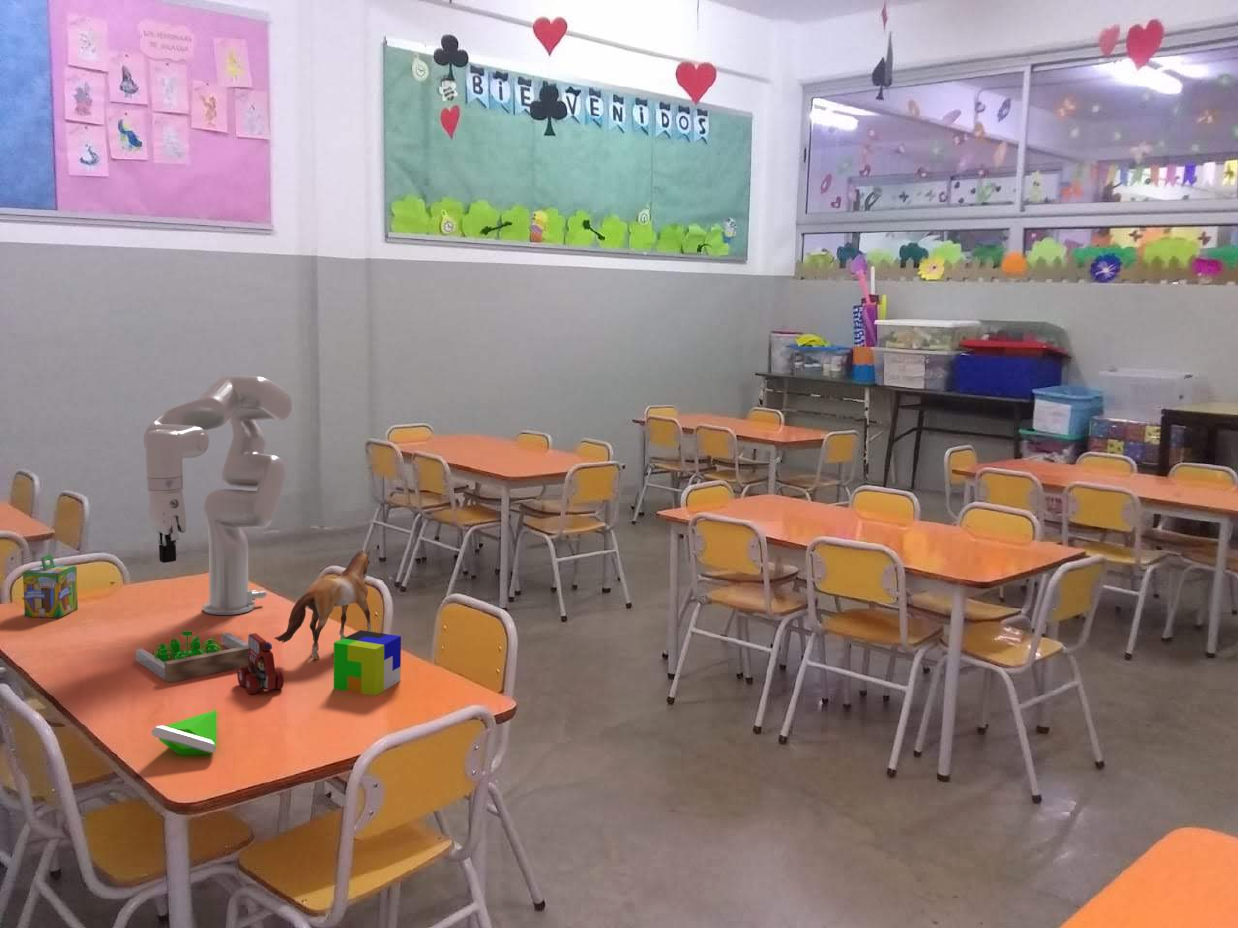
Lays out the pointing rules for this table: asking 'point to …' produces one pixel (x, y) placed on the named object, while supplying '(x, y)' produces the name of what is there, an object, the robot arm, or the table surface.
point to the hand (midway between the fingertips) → (167, 561)
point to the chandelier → (194, 648)
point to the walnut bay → (198, 661)
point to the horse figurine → (331, 600)
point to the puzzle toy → (367, 662)
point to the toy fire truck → (259, 667)
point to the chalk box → (50, 590)
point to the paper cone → (190, 734)
